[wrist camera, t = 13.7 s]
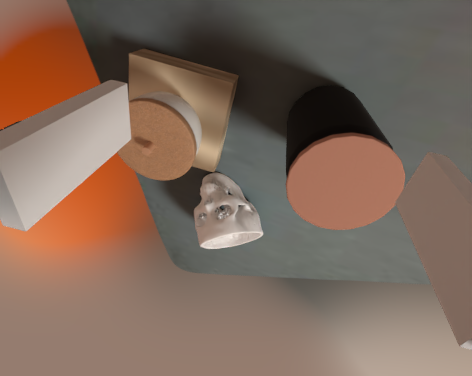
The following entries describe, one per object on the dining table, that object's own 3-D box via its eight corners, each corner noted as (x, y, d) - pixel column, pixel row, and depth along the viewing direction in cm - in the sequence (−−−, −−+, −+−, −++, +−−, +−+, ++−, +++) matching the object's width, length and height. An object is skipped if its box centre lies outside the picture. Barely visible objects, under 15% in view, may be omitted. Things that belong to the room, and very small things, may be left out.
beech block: (145, 48, 40) (128, 53, 36) (239, 74, 40) (233, 83, 36) (142, 135, 48) (128, 148, 44) (220, 157, 48) (214, 172, 44)
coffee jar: (325, 165, 45) (342, 245, 30) (272, 127, 43) (263, 193, 28) (379, 113, 39) (433, 182, 25) (322, 66, 37) (343, 110, 22)
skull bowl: (227, 157, 45) (238, 227, 40) (263, 187, 57) (275, 245, 51) (177, 179, 49) (180, 246, 44) (219, 203, 61) (226, 259, 55)
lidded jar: (140, 68, 36) (99, 92, 29) (218, 95, 36) (197, 125, 29) (137, 138, 43) (103, 172, 35) (203, 161, 43) (183, 199, 36)
